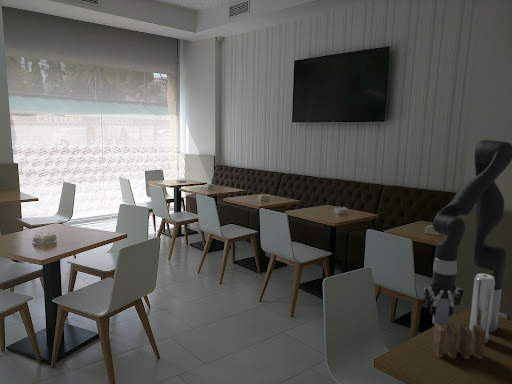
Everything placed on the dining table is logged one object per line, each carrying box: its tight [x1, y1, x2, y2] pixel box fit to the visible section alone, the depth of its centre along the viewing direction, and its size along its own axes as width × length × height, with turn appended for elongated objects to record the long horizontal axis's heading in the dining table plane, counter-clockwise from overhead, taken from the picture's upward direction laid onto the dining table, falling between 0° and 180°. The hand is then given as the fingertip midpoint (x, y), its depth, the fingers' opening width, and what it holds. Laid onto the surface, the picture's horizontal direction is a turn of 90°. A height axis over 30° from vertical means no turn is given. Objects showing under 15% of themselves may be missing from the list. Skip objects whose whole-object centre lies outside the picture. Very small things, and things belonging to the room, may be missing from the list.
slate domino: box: [432, 298, 450, 326], centre depth 142 cm, size 2×5×10 cm, turn 88°
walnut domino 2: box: [444, 323, 460, 359], centre depth 137 cm, size 2×5×10 cm, turn 178°
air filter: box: [468, 273, 495, 344], centre depth 146 cm, size 6×6×25 cm
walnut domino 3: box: [457, 324, 472, 360], centre depth 136 cm, size 2×5×10 cm, turn 178°
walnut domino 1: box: [431, 323, 446, 359], centre depth 137 cm, size 2×5×10 cm, turn 178°
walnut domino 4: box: [470, 325, 486, 360], centre depth 136 cm, size 2×5×10 cm, turn 178°
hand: (441, 314), depth 143 cm, fingers closed on slate domino, 5 cm apart
